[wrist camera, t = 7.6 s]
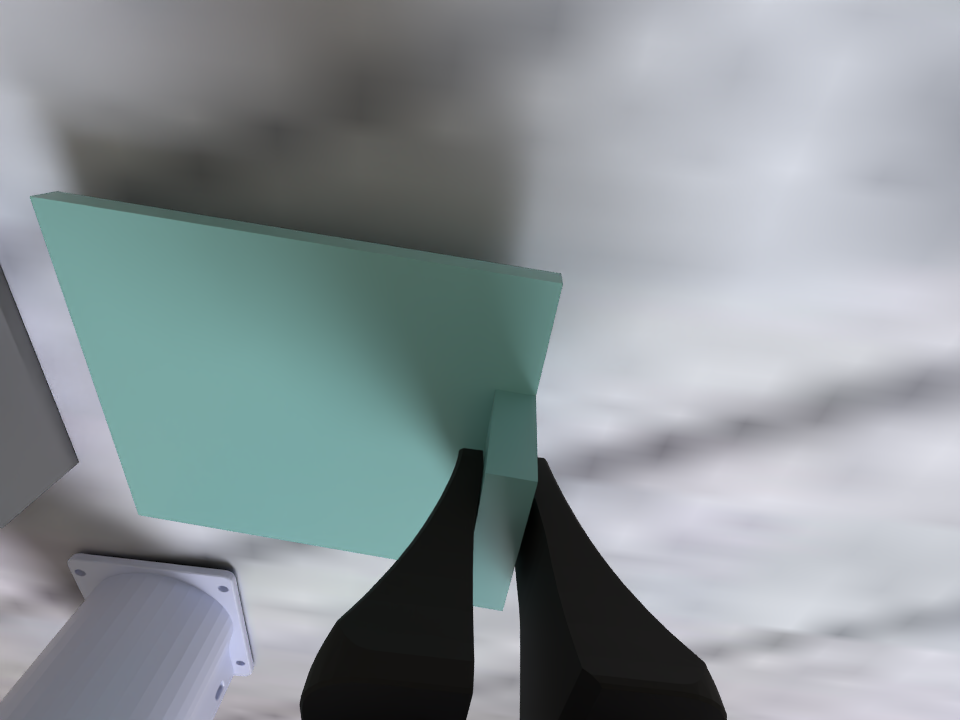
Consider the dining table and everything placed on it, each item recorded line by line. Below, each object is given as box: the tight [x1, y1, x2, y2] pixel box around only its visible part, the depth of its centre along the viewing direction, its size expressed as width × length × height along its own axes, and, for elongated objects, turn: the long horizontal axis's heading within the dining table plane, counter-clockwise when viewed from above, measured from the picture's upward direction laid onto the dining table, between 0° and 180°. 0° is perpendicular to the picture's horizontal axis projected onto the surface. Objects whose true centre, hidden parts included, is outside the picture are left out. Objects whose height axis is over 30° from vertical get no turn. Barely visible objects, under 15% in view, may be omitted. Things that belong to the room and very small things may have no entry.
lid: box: [30, 191, 563, 611], centre depth 14 cm, size 12×14×5 cm
